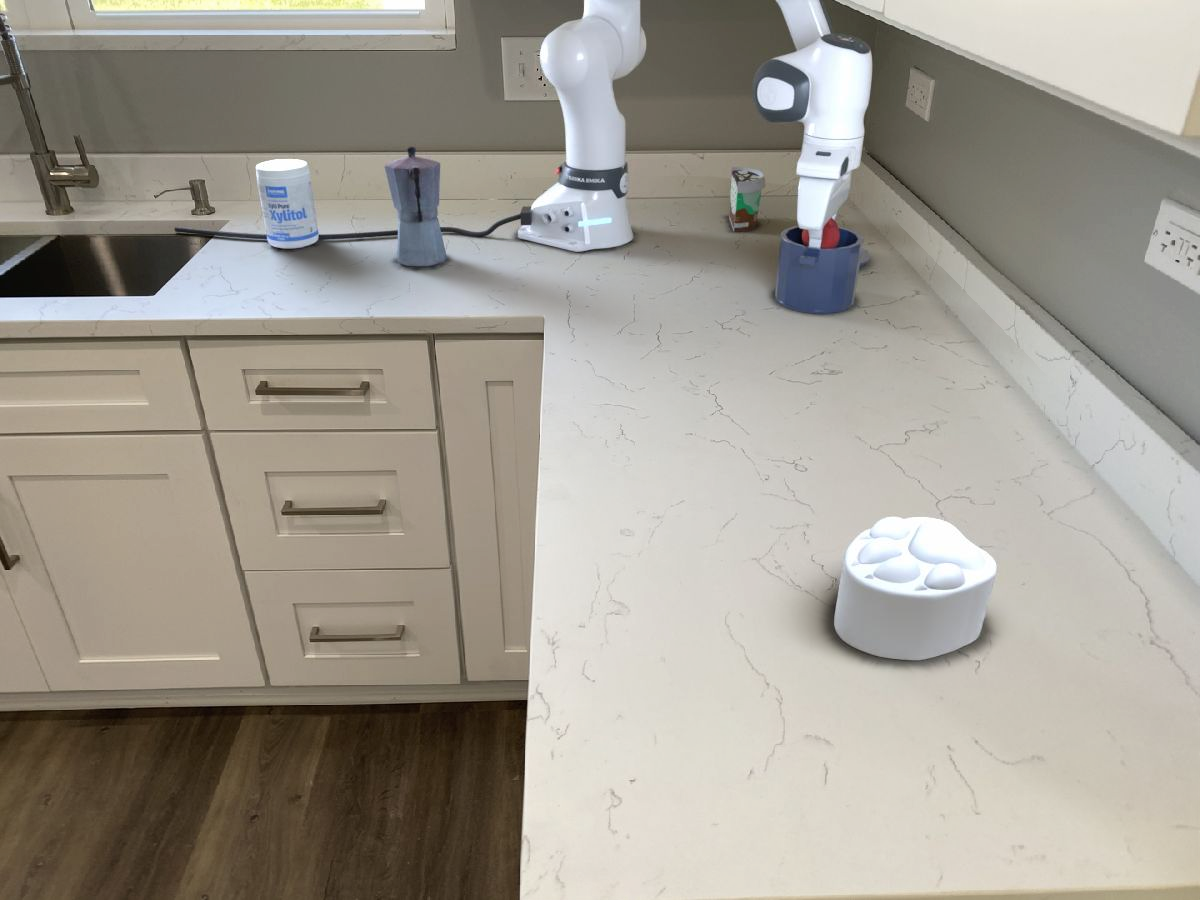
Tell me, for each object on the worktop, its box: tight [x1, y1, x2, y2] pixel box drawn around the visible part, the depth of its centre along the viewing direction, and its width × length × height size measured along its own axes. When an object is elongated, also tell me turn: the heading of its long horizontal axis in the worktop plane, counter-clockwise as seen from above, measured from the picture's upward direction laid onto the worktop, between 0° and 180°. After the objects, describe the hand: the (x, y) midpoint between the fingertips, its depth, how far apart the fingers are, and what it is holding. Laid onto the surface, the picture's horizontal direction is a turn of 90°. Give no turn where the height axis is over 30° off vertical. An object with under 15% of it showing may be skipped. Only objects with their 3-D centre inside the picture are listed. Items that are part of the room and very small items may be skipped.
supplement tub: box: [255, 158, 320, 250], centre depth 174 cm, size 10×10×15 cm
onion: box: [802, 217, 840, 248], centre depth 146 cm, size 6×6×8 cm
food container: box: [728, 166, 767, 232], centre depth 183 cm, size 12×6×10 cm, turn 179°
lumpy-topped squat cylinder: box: [833, 516, 998, 661], centre depth 82 cm, size 10×13×9 cm
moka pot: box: [384, 146, 447, 267], centre depth 163 cm, size 10×15×20 cm, turn 18°
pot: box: [774, 224, 864, 315], centre depth 149 cm, size 13×18×10 cm
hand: (820, 241), depth 147 cm, fingers closed on onion, 6 cm apart
